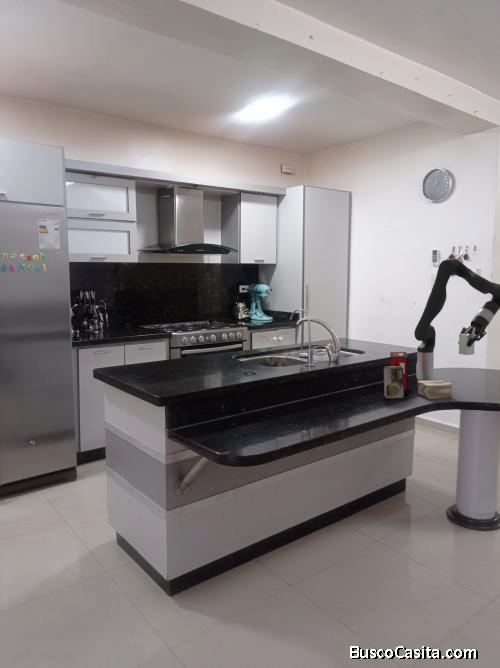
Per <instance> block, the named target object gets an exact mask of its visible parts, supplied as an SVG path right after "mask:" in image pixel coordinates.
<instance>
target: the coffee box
mask: <svg viewBox="0 0 500 668" xmlns="http://www.w3.org/2000/svg"><path fill="white" fill-rule="evenodd" d="M383 385H384V386H383V387H384V388H383V389H384V390H383V392H384V394H383V395H384V398H385V399H404V398H405V397H404V396H405V395H404V394H405V393H404V391H403V368H402V367H401V366H390V365H387V366H386V365H385V366H383Z"/></svg>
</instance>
